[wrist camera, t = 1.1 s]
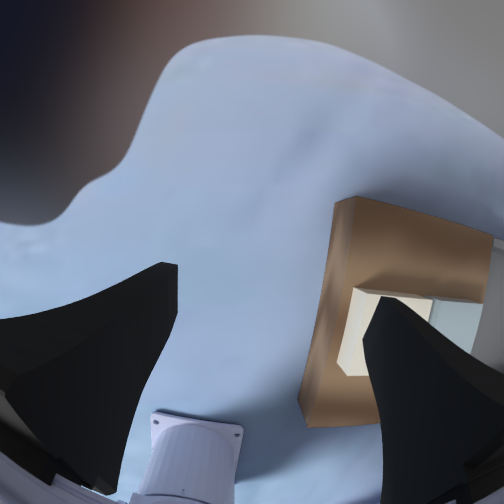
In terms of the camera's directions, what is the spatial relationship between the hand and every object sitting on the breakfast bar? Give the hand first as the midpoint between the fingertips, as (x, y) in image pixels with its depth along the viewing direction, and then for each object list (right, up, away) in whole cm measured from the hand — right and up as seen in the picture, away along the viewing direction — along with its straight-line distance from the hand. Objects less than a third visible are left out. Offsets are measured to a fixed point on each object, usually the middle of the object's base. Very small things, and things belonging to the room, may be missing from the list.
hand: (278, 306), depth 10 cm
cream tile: (+7, -3, +7) cm, 11 cm away
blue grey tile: (+13, -4, +7) cm, 16 cm away
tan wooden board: (+11, -3, +11) cm, 16 cm away
